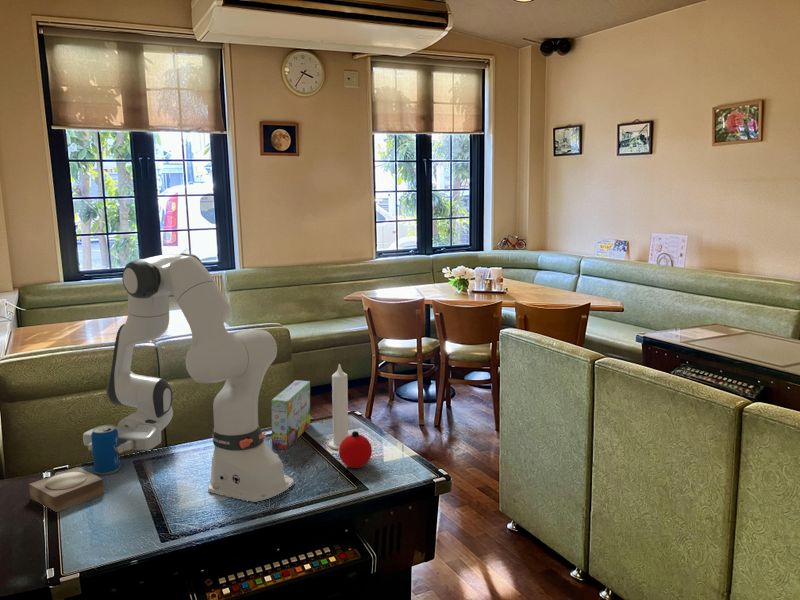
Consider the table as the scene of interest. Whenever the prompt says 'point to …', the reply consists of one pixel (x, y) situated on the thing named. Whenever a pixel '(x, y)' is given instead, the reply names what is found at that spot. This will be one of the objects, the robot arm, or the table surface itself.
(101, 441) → the beverage can
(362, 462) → the ornament
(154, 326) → the robot arm
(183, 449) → the table surface
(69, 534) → the table surface
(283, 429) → the snack box
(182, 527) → the table surface
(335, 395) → the candle
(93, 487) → the base block
